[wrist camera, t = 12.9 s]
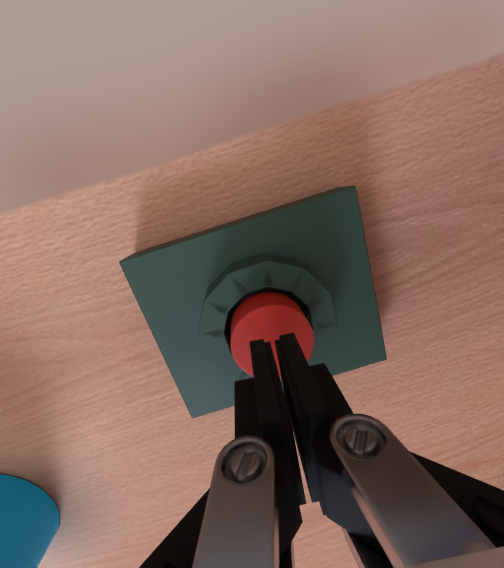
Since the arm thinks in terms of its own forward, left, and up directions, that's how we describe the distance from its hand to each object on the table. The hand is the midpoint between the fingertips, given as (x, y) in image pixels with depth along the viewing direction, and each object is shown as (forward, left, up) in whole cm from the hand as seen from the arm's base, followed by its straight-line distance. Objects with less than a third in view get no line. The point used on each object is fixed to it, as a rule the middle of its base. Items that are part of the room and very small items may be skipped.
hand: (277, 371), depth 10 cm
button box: (0, 0, -7) cm, 7 cm away
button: (0, 0, -3) cm, 3 cm away
